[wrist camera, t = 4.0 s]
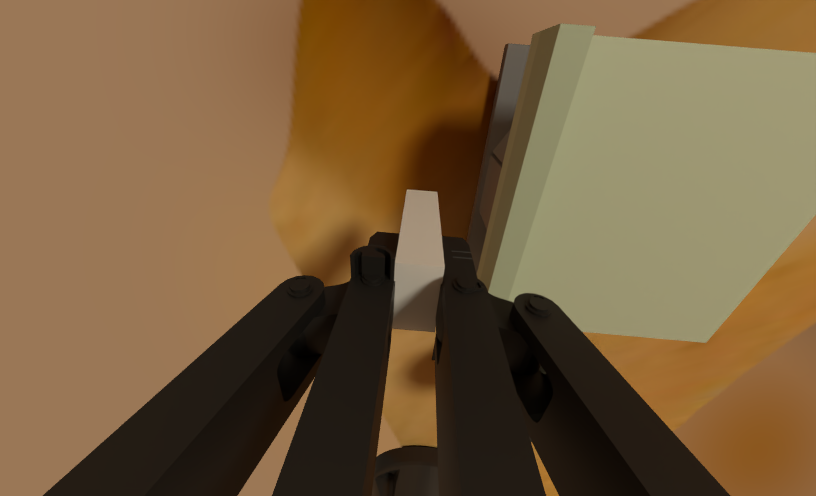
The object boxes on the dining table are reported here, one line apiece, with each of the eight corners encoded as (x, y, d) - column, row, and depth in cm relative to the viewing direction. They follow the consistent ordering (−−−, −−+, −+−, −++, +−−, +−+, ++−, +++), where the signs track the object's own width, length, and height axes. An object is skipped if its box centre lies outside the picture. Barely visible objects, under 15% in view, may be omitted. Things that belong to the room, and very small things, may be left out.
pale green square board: (694, 331, 21) (732, 368, 18) (467, 311, 21) (474, 344, 18) (909, 64, 12) (1035, 61, 10) (533, 34, 13) (560, 23, 10)
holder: (647, 286, 25) (690, 328, 21) (460, 270, 25) (467, 308, 21) (783, 67, 17) (899, 64, 13) (505, 44, 17) (530, 34, 13)
